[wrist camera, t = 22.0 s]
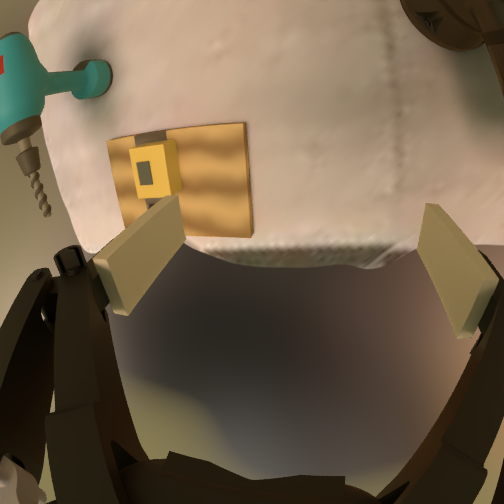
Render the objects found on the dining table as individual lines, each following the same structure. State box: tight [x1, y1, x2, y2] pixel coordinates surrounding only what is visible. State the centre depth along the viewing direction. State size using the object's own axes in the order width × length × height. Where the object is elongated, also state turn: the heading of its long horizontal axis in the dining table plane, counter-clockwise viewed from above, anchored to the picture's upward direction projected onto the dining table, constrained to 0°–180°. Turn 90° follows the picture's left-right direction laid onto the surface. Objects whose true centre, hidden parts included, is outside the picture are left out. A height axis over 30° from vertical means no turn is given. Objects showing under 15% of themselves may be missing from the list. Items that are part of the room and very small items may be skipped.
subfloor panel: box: [107, 122, 253, 238], centre depth 45 cm, size 18×24×2 cm
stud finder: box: [129, 139, 182, 199], centre depth 41 cm, size 8×6×4 cm
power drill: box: [0, 32, 112, 217], centre depth 30 cm, size 28×9×23 cm, turn 12°
